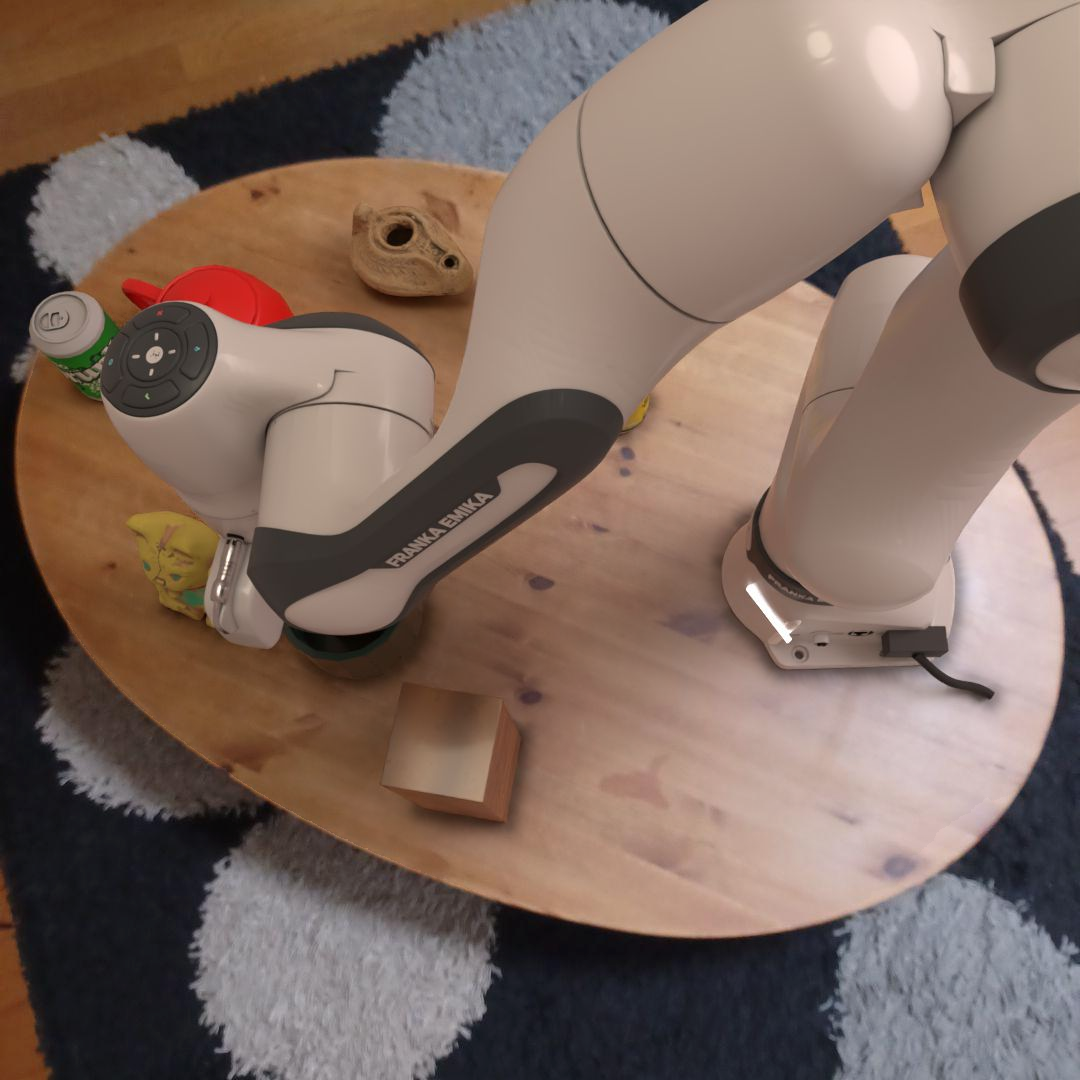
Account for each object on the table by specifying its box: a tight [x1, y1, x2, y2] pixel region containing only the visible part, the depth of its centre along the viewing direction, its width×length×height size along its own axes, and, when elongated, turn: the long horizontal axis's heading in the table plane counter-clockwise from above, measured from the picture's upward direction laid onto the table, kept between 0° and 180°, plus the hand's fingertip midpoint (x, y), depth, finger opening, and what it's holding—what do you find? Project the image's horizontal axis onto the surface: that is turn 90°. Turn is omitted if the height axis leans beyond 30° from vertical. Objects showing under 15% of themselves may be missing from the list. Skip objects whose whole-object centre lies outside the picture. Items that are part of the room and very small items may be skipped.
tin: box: [282, 602, 424, 681], centre depth 97 cm, size 12×12×8 cm
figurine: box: [124, 510, 221, 632], centre depth 96 cm, size 11×9×15 cm
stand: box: [379, 681, 522, 823], centre depth 86 cm, size 8×8×20 cm
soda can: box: [28, 290, 121, 402], centre depth 107 cm, size 8×8×12 cm
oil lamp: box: [349, 201, 474, 297], centre depth 111 cm, size 11×15×8 cm
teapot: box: [121, 263, 295, 326], centre depth 106 cm, size 25×16×12 cm, turn 64°
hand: (305, 542), depth 81 cm, fingers closed on tin lid, 2 cm apart
